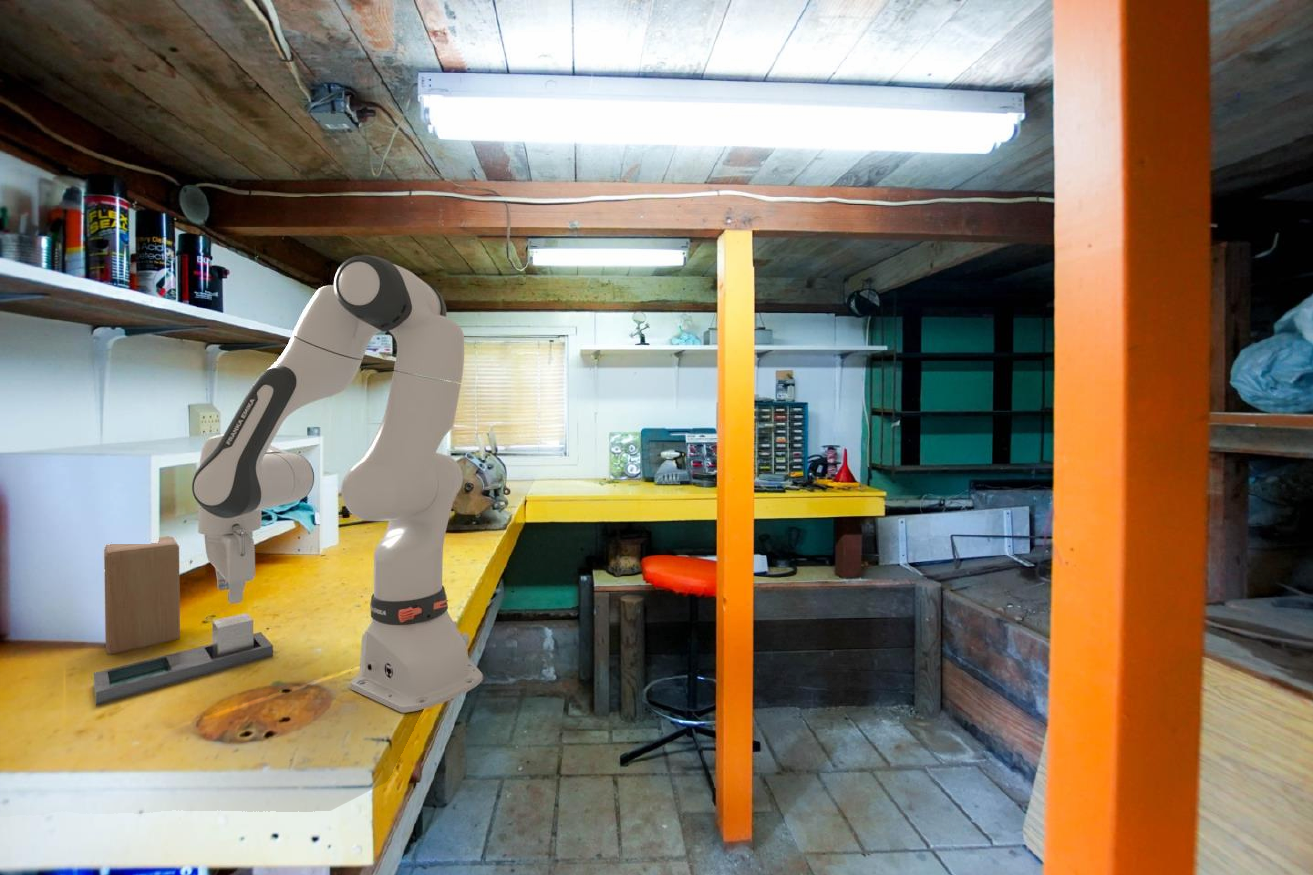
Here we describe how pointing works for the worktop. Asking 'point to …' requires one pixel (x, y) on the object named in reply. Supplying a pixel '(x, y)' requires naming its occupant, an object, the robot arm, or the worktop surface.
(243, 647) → the white upright block
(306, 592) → the worktop surface
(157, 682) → the gray slotted tray
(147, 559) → the wooden block
